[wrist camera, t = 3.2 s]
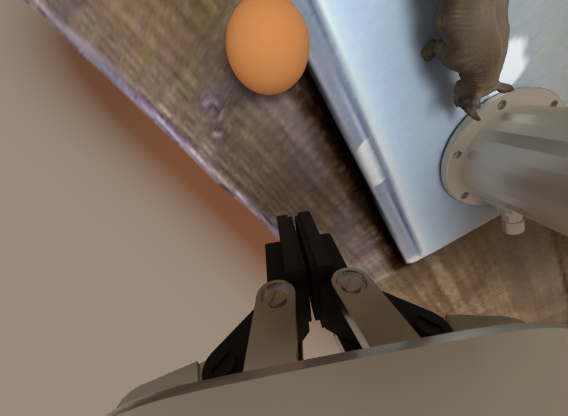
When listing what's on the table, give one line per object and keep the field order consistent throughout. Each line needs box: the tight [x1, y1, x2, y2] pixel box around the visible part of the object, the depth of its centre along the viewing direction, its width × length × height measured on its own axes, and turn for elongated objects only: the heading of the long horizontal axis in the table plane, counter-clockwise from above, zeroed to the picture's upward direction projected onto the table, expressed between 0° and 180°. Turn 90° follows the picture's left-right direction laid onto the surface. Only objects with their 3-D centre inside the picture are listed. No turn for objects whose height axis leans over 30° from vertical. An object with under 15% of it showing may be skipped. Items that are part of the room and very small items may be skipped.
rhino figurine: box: [421, 0, 514, 121], centre depth 17 cm, size 4×14×6 cm, turn 29°
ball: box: [226, 0, 309, 95], centre depth 16 cm, size 6×6×6 cm
